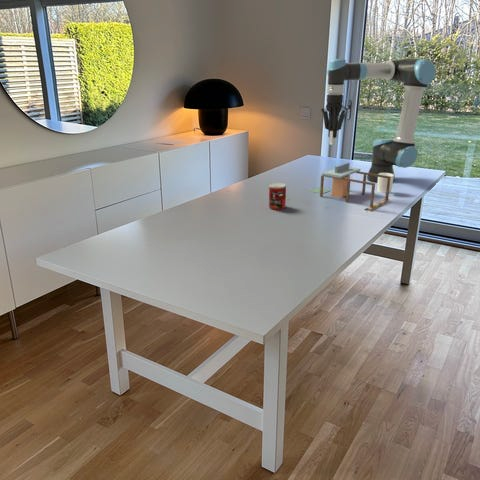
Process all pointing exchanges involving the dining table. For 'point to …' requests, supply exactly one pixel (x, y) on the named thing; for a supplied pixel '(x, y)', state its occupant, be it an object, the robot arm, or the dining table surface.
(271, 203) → the canned food
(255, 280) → the dining table surface
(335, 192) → the block
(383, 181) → the white cup
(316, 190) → the felt pad
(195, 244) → the dining table surface
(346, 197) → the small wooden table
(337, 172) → the lid
